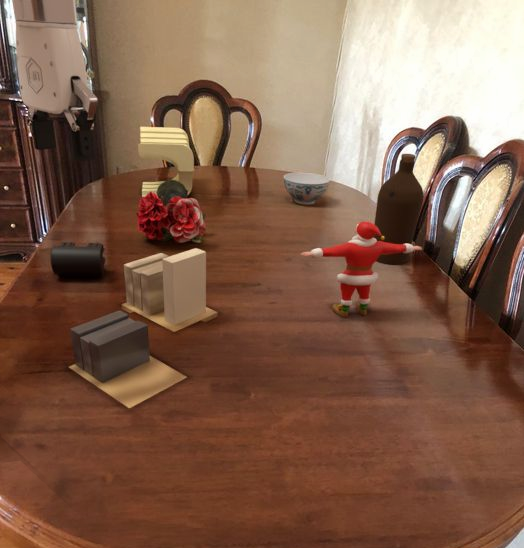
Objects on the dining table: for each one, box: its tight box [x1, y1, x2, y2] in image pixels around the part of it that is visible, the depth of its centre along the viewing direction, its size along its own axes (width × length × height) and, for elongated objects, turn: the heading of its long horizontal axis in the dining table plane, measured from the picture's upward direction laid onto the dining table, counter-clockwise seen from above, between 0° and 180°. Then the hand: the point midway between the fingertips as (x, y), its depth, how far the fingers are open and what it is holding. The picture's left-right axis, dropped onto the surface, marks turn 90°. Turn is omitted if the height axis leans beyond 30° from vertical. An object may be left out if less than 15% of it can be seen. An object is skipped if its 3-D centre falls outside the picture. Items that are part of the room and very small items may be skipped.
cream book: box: [162, 247, 207, 325], centre depth 95 cm, size 3×8×12 cm, turn 140°
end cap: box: [50, 241, 107, 278], centre depth 111 cm, size 10×7×7 cm
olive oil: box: [373, 153, 424, 265], centre depth 127 cm, size 11×11×25 cm
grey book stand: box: [68, 310, 188, 409], centre depth 80 cm, size 15×11×8 cm
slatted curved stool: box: [137, 126, 195, 198], centre depth 169 cm, size 30×16×18 cm, turn 10°
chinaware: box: [283, 172, 331, 206], centre depth 172 cm, size 15×15×8 cm
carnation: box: [135, 179, 207, 244], centre depth 139 cm, size 16×18×35 cm
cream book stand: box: [121, 252, 219, 333], centre depth 98 cm, size 15×11×9 cm
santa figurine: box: [300, 221, 423, 318], centre depth 100 cm, size 25×6×19 cm, turn 107°
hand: (64, 154), depth 76 cm, fingers open, 9 cm apart
